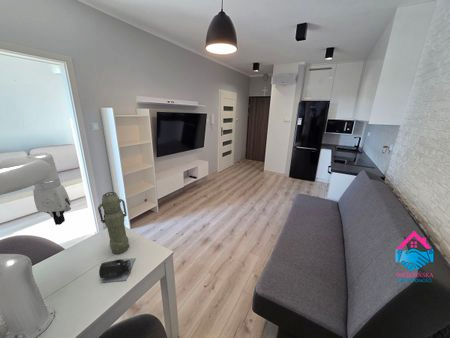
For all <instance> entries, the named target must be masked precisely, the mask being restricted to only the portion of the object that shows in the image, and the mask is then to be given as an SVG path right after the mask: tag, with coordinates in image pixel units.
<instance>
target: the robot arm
mask: <svg viewBox="0 0 450 338" xmlns="http://www.w3.org/2000/svg"><path fill="white" fill-rule="evenodd" d="M54 159H55V158H54V157H53V155H52V154H51V153H48V152H39V153H38V152H37V153H31V154H29V155H26V156H22V157H15V158H14V157H13V158H7V159H3V160H0V196H2V195H6V194H10V193H14V192H17V191H21V190H24V189H27V188H30V187H32V186H33V187H34V188H33V191H32V192H33V193H32V195H33V200H34V205H35V208H36V210H37V212H39V213H47V214H48V215H50V217H51V218H53V222H54V223H55V226H58V225H60V226H61V225H62V224H63V223H65V221H66V218H65V215H64V213H66V212H69V211H71V210H72V208H71V199H70V197H69V195H68V192H67V189H66V188H65V186H64V185H63V184H62V183H61V180H60V177H59V172H58V170H57V167H56V163H55V160H54ZM55 316H56V312H55V308H54V307H53V306H51V305H46V302H45V301H44V299H43V296H42V293H41V291H40V289H39V287H38V284H37V282H36V279H35V278H34V274H33V263H32V260H31V258H30V257H28V256H27V255H25V254H24V255H23V254H18V253H0V317H1V318H2V321H3V322H4V324H5V325H6V326H5V327H7V329H8V330H7V332H6V333H5V338H38V337H39V336H40V335H41V334H42V333H43V332H44V331H46V330H47V329H48V327H49V326H50V325H51V324H52V322H53V321H54V319H55Z"/></svg>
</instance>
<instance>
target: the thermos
mask: <svg viewBox="0 0 450 338" xmlns="http://www.w3.org/2000/svg"><path fill="white" fill-rule="evenodd" d="M121 202H122V207H121ZM101 208H102V209H103V213H104V215H103V214H102V210H101ZM122 208H123V210H122ZM97 210H98V214H99V217H100V222H101V223H103V224H105V227H106V228H107V233H108V237H109V247H110V250H111V253H112V254H113V255H114V256H115V255H117V256H118V255H122V254H124V253H125V252H127V251H128V250H129V249H130V244H129V243H130V242H129V238H128V235H127V231H126V228H125V227H126V226H125V218H126V217H127V214H128V213H127V209H126V203H125V200H124V199H122V198H120V197H119V195H118V193H117V192H115V191H108V192H106V193H103V195H102V198H101V203H100V204H99V205H98V207H97ZM128 248H129V249H128Z"/></svg>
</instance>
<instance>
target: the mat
mask: <svg viewBox="0 0 450 338" xmlns="http://www.w3.org/2000/svg"><path fill="white" fill-rule="evenodd" d="M120 259H121V258H119V259H116V260H120ZM122 259H123V260H124V261H126V260H130V262H131V268H130V270H129V271H126V272H125V271H124V272H123V274H121V275H117V276H113V277H108V278H103V279H104V280H103V281H102V284H103V283H104V284H105V283H106V284H107V283H117V282H126V281H127V279H128V277H129V276H130V273H131V270H132V269H133V265H134V263H135V261H136V257H134V258H122Z"/></svg>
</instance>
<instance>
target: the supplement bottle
mask: <svg viewBox="0 0 450 338" xmlns="http://www.w3.org/2000/svg"><path fill="white" fill-rule="evenodd" d="M119 259H120V260H117V259H115V260H110V261H109V260H108V261H105V262H102V263H101V264H100V265H99V271H98V276H99V278H100V279H105V278H108V277H113V276H117V275H121V274H123V272H124V271H125V272H126V271H129V270H130V268H131V262H130V260H126V261H124V260H123V259H124V258H122V259H121V258H119ZM131 269H132V268H131Z"/></svg>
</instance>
